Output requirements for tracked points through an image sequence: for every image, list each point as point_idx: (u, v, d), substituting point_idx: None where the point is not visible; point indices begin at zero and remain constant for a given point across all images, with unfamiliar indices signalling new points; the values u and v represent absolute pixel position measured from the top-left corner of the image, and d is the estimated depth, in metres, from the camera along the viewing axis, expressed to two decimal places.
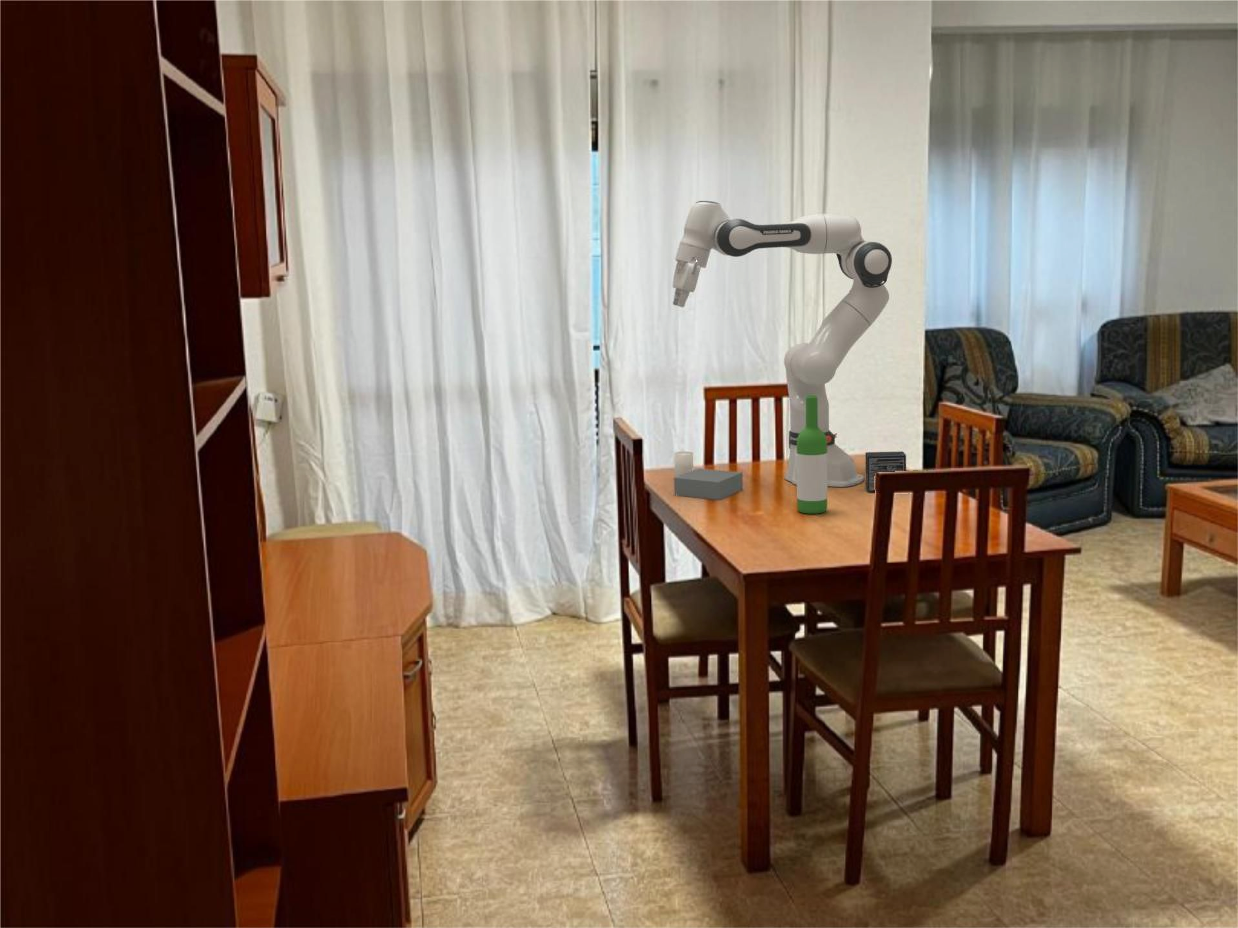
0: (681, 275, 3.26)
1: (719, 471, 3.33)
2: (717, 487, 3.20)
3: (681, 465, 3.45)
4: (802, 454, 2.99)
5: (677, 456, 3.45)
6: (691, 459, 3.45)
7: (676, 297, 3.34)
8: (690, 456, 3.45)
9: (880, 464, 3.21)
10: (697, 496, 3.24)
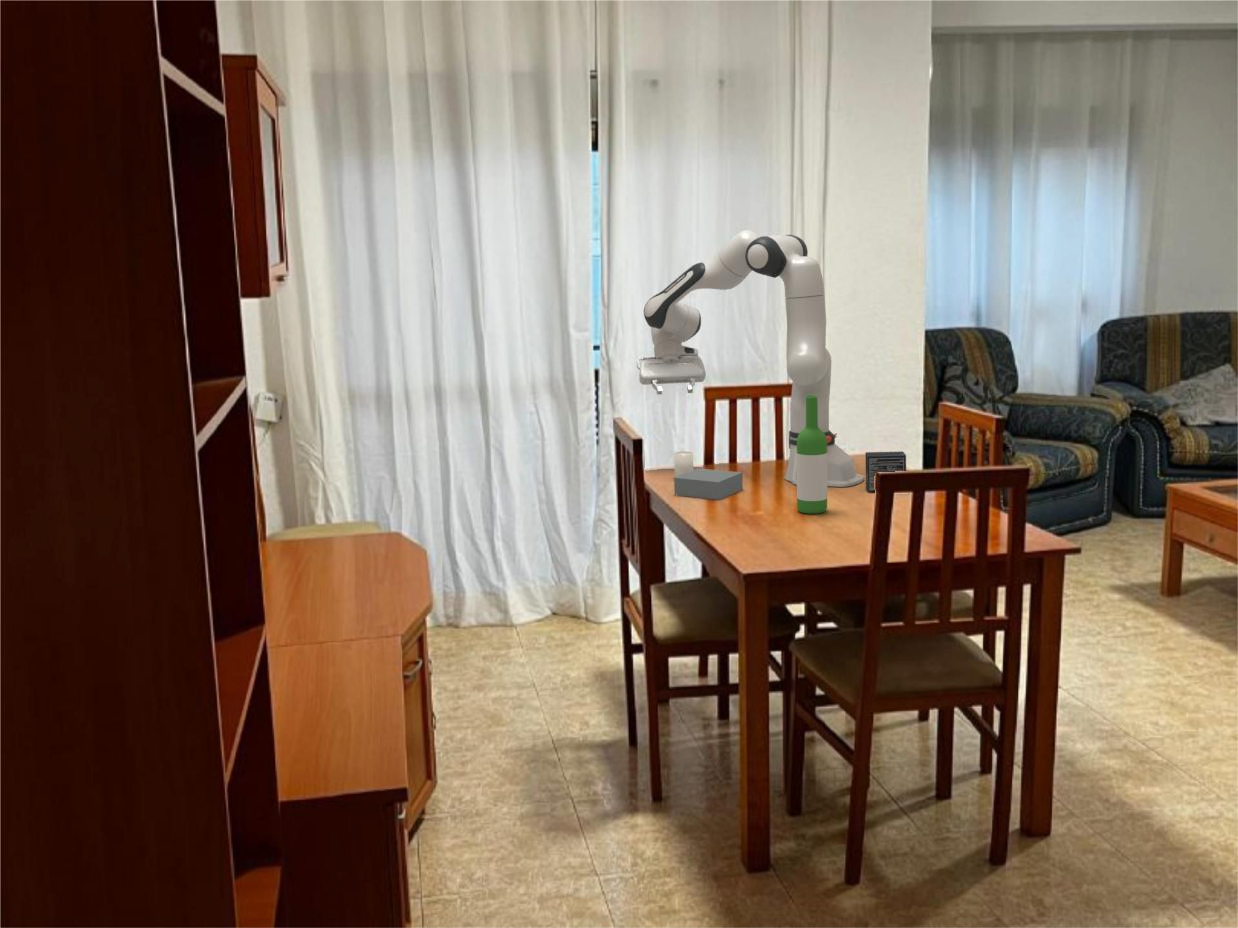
0: None
1: (719, 471, 3.33)
2: (717, 487, 3.20)
3: (681, 465, 3.45)
4: (802, 454, 2.99)
5: (677, 456, 3.45)
6: (691, 459, 3.45)
7: None
8: (690, 456, 3.45)
9: (880, 464, 3.21)
10: (697, 496, 3.24)
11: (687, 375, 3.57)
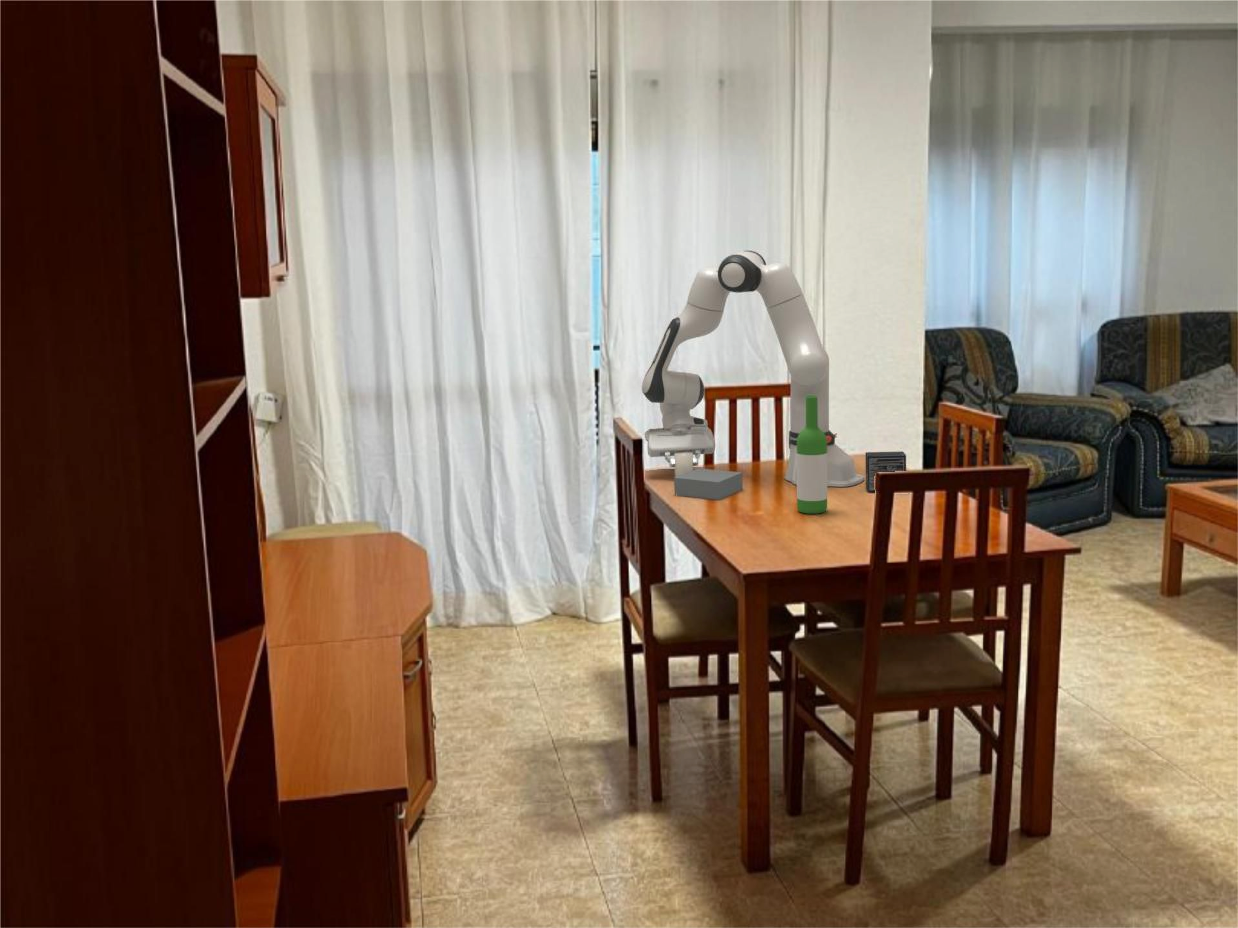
0: None
1: (719, 471, 3.33)
2: (717, 487, 3.20)
3: (681, 465, 3.45)
4: (802, 454, 2.99)
5: (677, 456, 3.45)
6: (691, 459, 3.45)
7: None
8: (690, 456, 3.45)
9: (880, 464, 3.21)
10: (697, 496, 3.24)
11: (696, 447, 3.48)
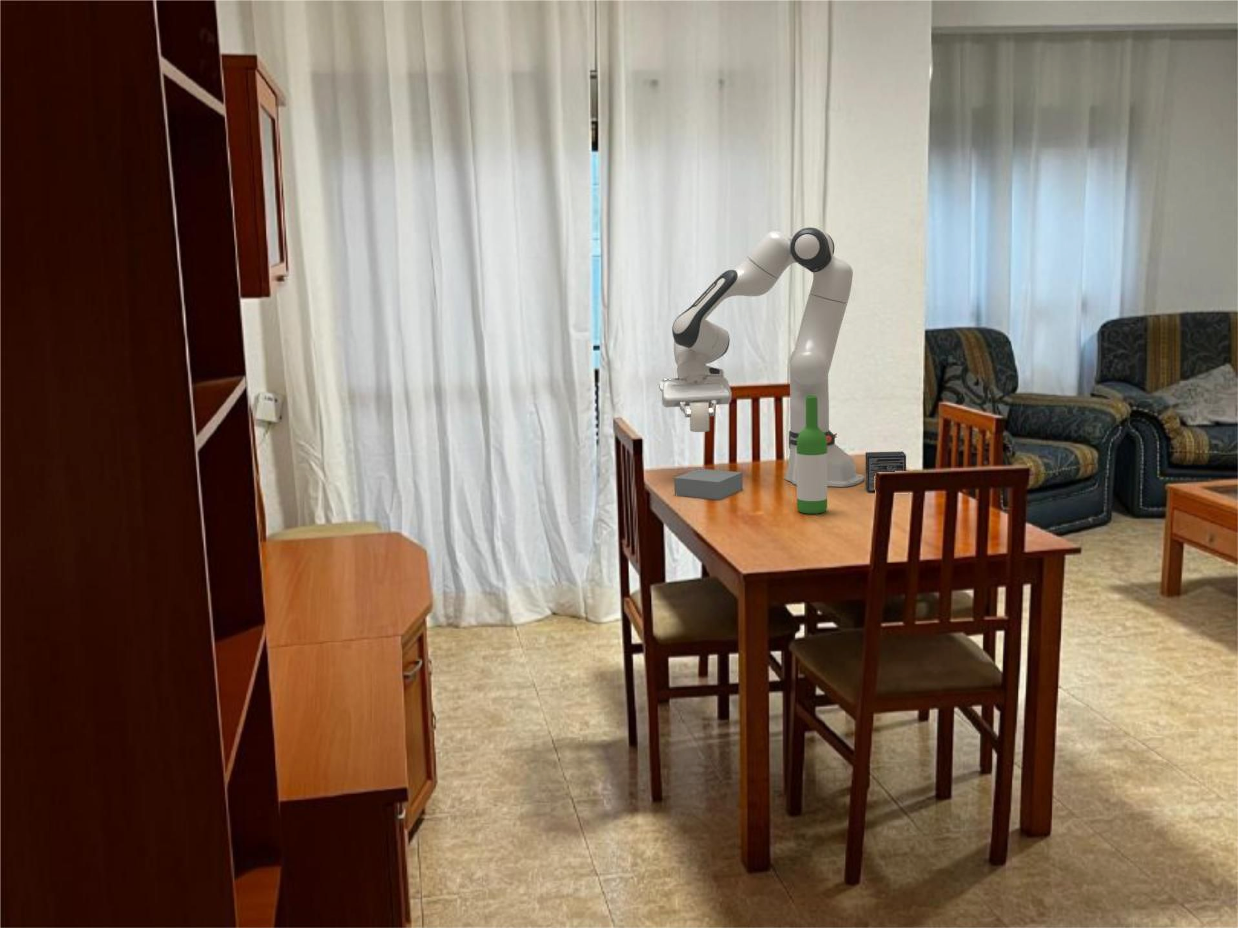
0: None
1: (719, 471, 3.33)
2: (717, 487, 3.20)
3: (696, 415, 3.35)
4: (802, 454, 2.99)
5: (692, 405, 3.35)
6: (707, 409, 3.36)
7: None
8: (706, 405, 3.35)
9: (880, 464, 3.21)
10: (697, 496, 3.24)
11: (712, 397, 3.39)
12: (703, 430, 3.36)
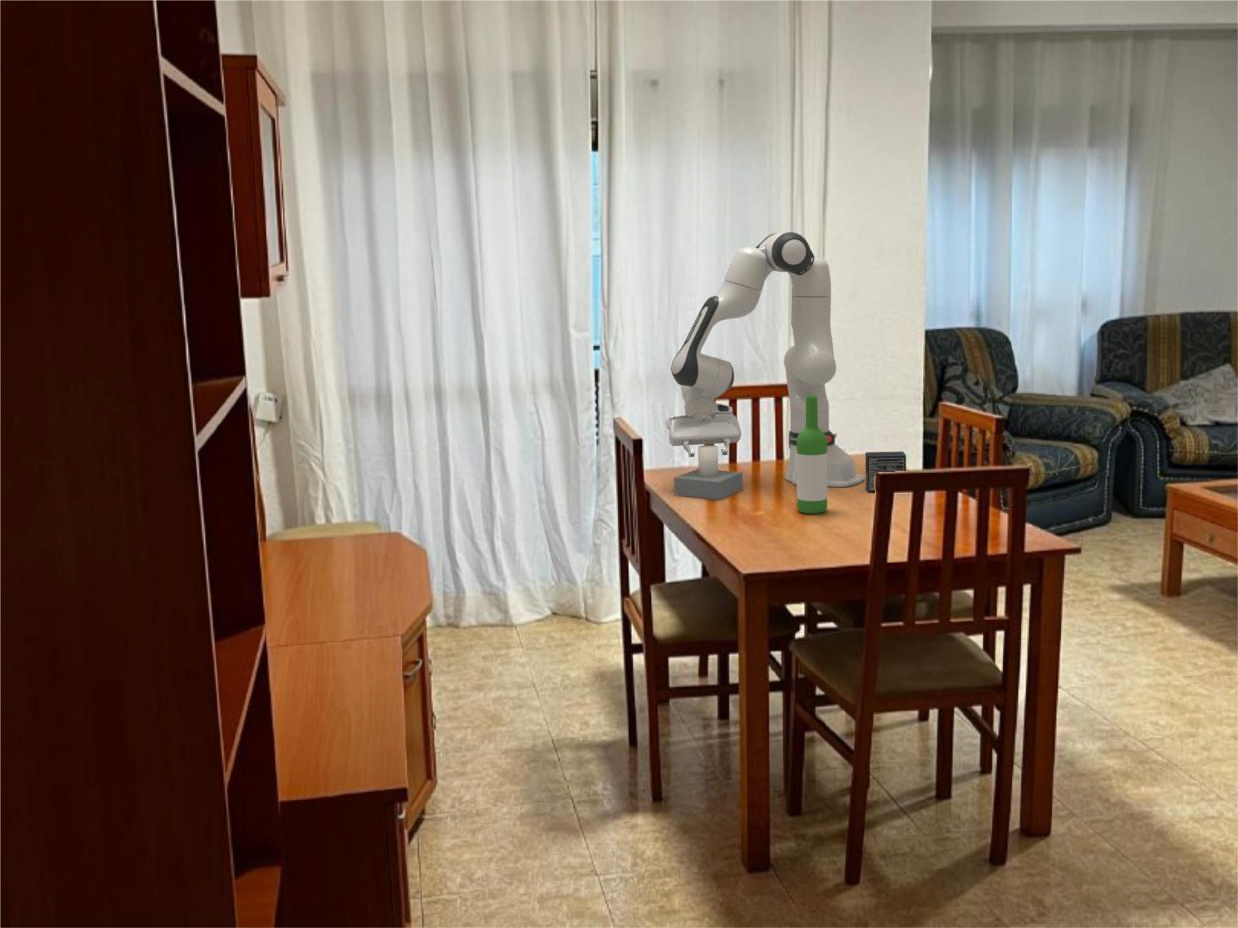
0: None
1: (719, 471, 3.33)
2: (717, 487, 3.20)
3: (705, 460, 3.26)
4: (802, 454, 2.99)
5: (701, 450, 3.26)
6: (716, 453, 3.26)
7: None
8: (715, 450, 3.26)
9: (880, 464, 3.21)
10: (697, 496, 3.24)
11: (721, 436, 3.29)
12: (712, 475, 3.27)
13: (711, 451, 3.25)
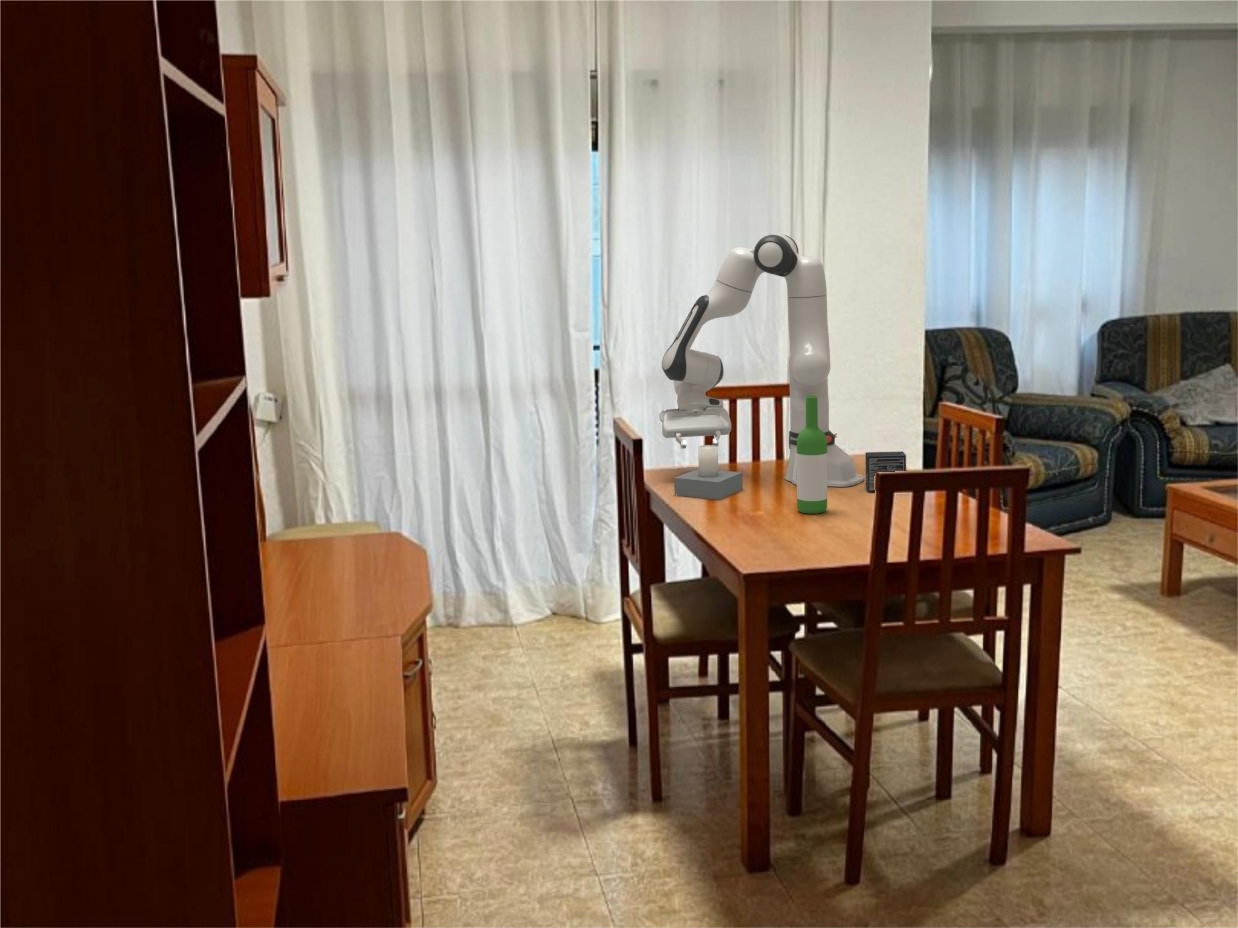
0: None
1: (719, 471, 3.33)
2: (717, 487, 3.20)
3: (705, 460, 3.26)
4: (802, 454, 2.99)
5: (701, 450, 3.26)
6: (716, 453, 3.26)
7: None
8: (715, 450, 3.26)
9: (880, 464, 3.21)
10: (697, 496, 3.24)
11: (712, 428, 3.42)
12: (712, 475, 3.26)
13: (711, 451, 3.25)
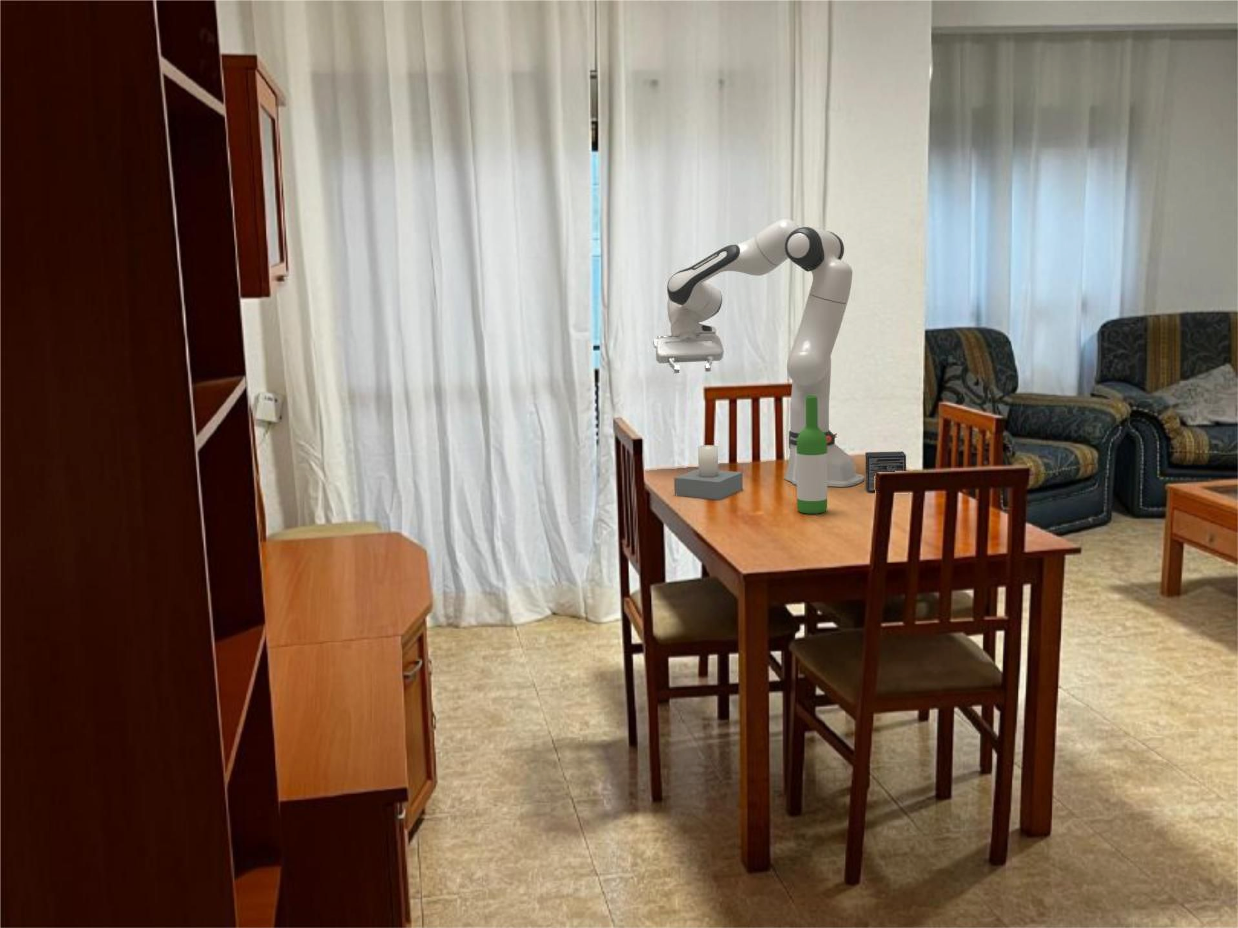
0: None
1: (719, 471, 3.33)
2: (717, 487, 3.20)
3: (705, 460, 3.26)
4: (802, 454, 2.99)
5: (701, 450, 3.26)
6: (716, 453, 3.26)
7: None
8: (715, 450, 3.26)
9: (880, 464, 3.21)
10: (697, 496, 3.24)
11: (705, 353, 3.50)
12: (712, 475, 3.26)
13: (711, 451, 3.25)
